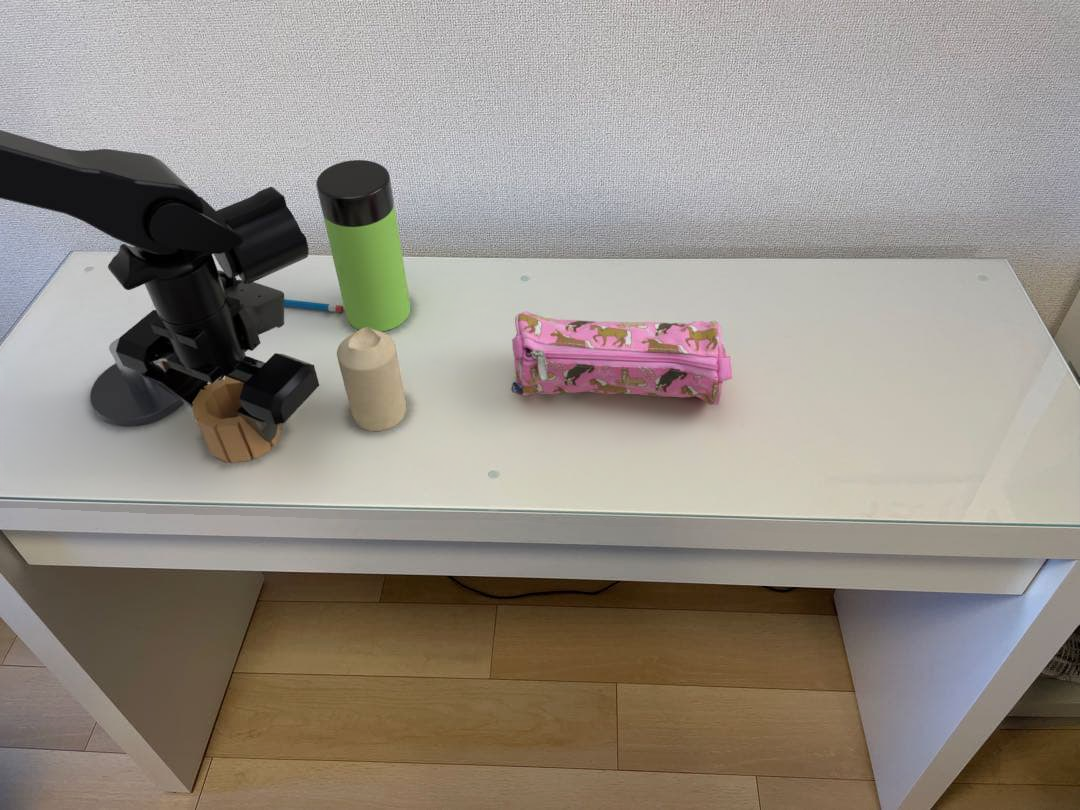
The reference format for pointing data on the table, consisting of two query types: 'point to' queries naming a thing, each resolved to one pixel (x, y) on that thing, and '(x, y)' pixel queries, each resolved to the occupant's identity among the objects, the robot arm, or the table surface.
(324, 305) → the pencil
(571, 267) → the table surface
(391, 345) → the candle
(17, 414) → the table surface
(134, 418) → the stand
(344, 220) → the tumbler
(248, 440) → the wooden segmented ring
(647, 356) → the pencil case
